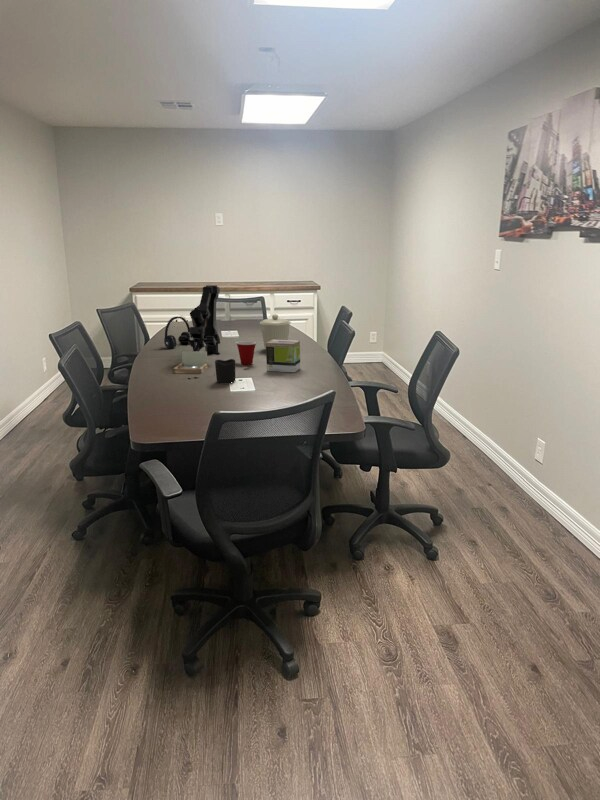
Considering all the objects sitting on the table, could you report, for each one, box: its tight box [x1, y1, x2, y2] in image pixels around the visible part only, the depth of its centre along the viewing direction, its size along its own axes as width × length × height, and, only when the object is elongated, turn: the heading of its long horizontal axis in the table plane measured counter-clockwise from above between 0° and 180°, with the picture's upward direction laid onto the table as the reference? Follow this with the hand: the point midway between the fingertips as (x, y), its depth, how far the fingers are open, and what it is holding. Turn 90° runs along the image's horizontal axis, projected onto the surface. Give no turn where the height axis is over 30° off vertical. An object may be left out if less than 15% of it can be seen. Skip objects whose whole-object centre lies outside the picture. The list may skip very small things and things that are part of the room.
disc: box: [183, 365, 199, 369], centre depth 276 cm, size 8×8×2 cm
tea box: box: [265, 339, 301, 373], centre depth 277 cm, size 15×10×15 cm
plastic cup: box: [235, 340, 257, 366], centre depth 290 cm, size 11×11×12 cm
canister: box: [259, 314, 292, 350], centre depth 322 cm, size 18×18×21 cm
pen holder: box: [214, 358, 236, 384], centre depth 257 cm, size 9×9×10 cm
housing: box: [172, 362, 209, 374], centre depth 276 cm, size 14×14×3 cm
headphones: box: [163, 316, 192, 349], centre depth 336 cm, size 20×7×18 cm, turn 148°
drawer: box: [180, 350, 209, 369], centre depth 276 cm, size 14×13×9 cm
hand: (194, 354), depth 282 cm, fingers closed, pressing on drawer
